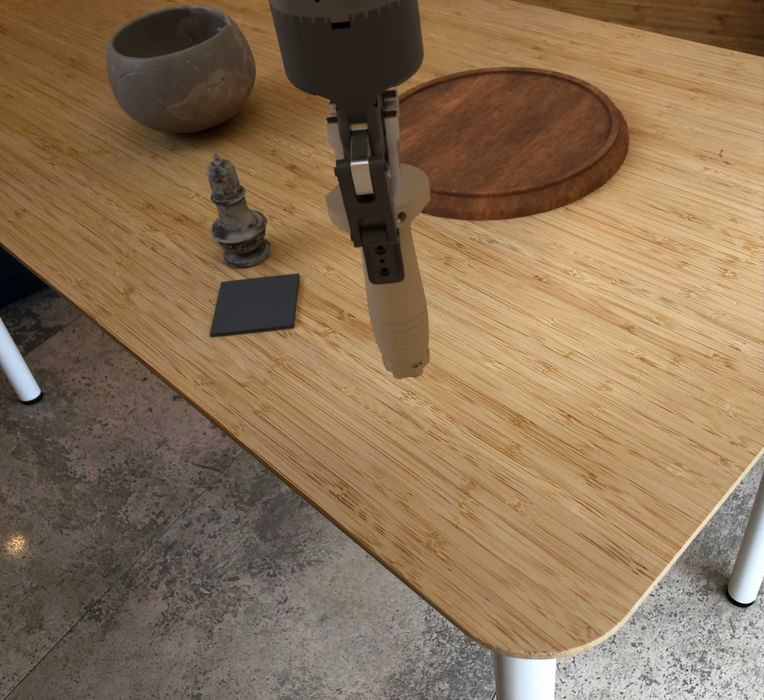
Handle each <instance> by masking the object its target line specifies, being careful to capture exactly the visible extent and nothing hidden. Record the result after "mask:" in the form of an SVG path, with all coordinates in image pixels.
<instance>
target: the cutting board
mask: <svg viewBox="0 0 764 700" xmlns="http://www.w3.org/2000/svg"><path fill="white" fill-rule="evenodd" d="M398 97H399V109H400V117H399V124H400V133H401V134H400V138H401V147H400V148H399V149H398V153H399V161H400V163H402V164H408V165H412V166H414V167H417V168H418V169H420V170H422V171H423V172H424V173H425V174H426V175H427V176H428V179H429V186H430V201H429V202H428V204H427V205H426V206H425V208H424V209H423V210H422V211H421V212H420V213H423V214H427V215H431V216H434V217H439V218H446V219H452V220H453V219H454V220H466V221H468V220H469V221H489V220H490V221H491V220H506V219H514V218H522V217H528V216H533V215H536V214H541V213H545V212H549V211H552V210H556V209H558V208H560V207H563V206H566V205H569V204H572V203H573V202H576V201H578V200H580V199H582V198H585V197H586V196H588V195H590V194H591V193H593V192H594V191H596V190H597V189H600V188H601V187H602V186H603V185H605V184H606V183H607V182H608V181H609V180H610V179H612V177H614V176H615V174H616V173H617V172H618V171H619V169H620V168H621V167H622V165H623V164H624V161H625V159H626V157H627V155H628V151H629V144H630V133H629V128H628V123H627V120H626V119H625V116H624V115H623V113H622V112H621V110H620V109H619V108H618V107H617V106H616V105H615V103H614V101H612V99H611V98H610V97H609V96H608V95H607V94H606V93H605V92H604V91H602V90H601V89H600V88H598V87H597V86H595V85H594V84H592V83H590V82H588V81H586V80H584V79H582V78H578V77H576V76H573V75H570V74H568V73H563V72H559V71H556V70H549V69H544V68H538V67H537V68H536V67H526V66H496V67H482V68H476V69H475V68H474V69H468V70H463V71H459V72H453V73H450V74H446V75H443V76H439V77H435V78H433V79H430V80H428V81H425V82H423V83H420V84H417V85H416V86H414V87H411V88H408V89H407V90H406V91H404V92H402V93H401V94H398Z"/></svg>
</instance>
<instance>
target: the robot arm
mask: <svg viewBox="0 0 764 700" xmlns="http://www.w3.org/2000/svg"><path fill="white" fill-rule="evenodd" d="M267 1H268V4H269V9H270V12H271V17H272V22H273V25H274V29H275V35H276V39H277V44H278V47H279V51H280V56H281V61H282V64H283V65H282V66H283V68H284V69H283V70H284V73H285V76H286V77H287V79H288V81H289V82H290V84H292V86H294V88H296V89H298V90H299V91H301V92H302V93H304V94H305V93H306V94H308V95H311V96H317V97H321V98H323V99H326V100H328V107H329V114H330V115H326V116H325V123H326V132H327V138H328V143H329V146H330V147H331V148H332V149H333V151H334V155H335V166H334V167H333V172H334V177H335V178H337V182H338V184H339V187H340V191H341V195H342V199H343V203H344V207H345V211H346V215H347V219H348V223H349V227H350V232H351V233H349V237H350V242H351V243H352V244H353V247H354V248H355V249H358V248H360V247H362V248H363V253H364V258H365V263H366V268H367V273H368V278H369V281H370V282H371V283H372V284H375V285H380V284H389V283H398V282H401V281H403V280H404V278H405V269H404V263H403V256H402V250H401V244H400V230H399V227H401V221H400V219H398V215H397V207H396V199H395V195H396V194H397V193H399V191H400V190H401V187H402V177H401V169H400V161H399V153H398V149H399V148H400V147H401V138H400V134H401V133H400V124H399V117H400V109H399V97H398V96H399V91H398V88H397V87H398V86H401V85H403V84H404V83H405V82H407V81H409V80H410V79H411V78H413V76H415V74H416V73H418V71H419V70H420V68H421V67H422V64H423V62H424V57H425V50H424V42H423V33H422V25H421V15H420V7H419V0H267ZM388 165H390V171H391V175H390V176H389V177H388V176H387V172H388Z"/></svg>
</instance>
